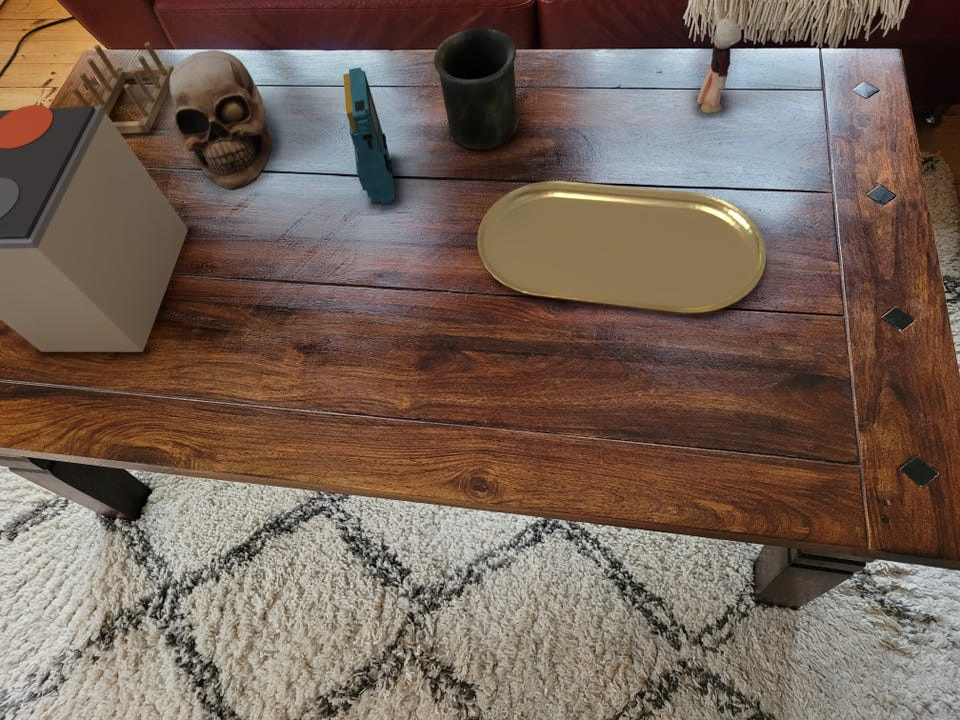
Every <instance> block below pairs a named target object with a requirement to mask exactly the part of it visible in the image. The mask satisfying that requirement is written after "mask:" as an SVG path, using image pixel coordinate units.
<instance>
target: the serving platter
mask: <svg viewBox="0 0 960 720" xmlns="http://www.w3.org/2000/svg"><path fill="white" fill-rule="evenodd" d="M476 246H477V247H476V249H477V252H478V256H479V259H480V261H481V263H482V265H483V266H484V268H485V269H486V272H488V273H489V274H490V276H492V277H493V279H494V280H496V281H497V282H498V283H500V284H501V285H503V286H505V287H506V288H508V289H511V290H512V291H515V292H517V293H520V294H521V295H522V294H523V295H525V296H530V297H531V296H532V297H536V298H545V299H554V300H564V301H569V302H579V303H587V304H595V305H602V306H603V305H604V306H611V307H612V306H613V307H618V308H619V307H620V308H629V309H636V310H644V311H654V312H661V313H671V314H676V315H677V314H678V315H701V314H709V313H713V312H716V311H720V310H723V309H726V308H728V307H730V306H733V305H734V304H737V303H738V302H740V301H741V300H743V299H744V298H745V297H747V296H748V295H749V294H750V293H751V292H752V291H753V290H754V289H755V288H756V286H757V285H758V283H759V282H760V280H761V278H762V276H763V274H764V272H765V268H766V263H767V249H766V245H765V241H764V238H763V236H762V233H761V231H760V229H759V228H758V226H757V225H756V224H755V223H754V222H753V220H752V219H751V218H750V217H749V216H748V215H747V214H746V213H745V212H744V211H742V210H741V209H739V208H738V207H736V206H735V205H733V204H731V203H729V202H728V201H726V200H723V199H721V198H718V197H716V196H712V195H708V194H705V193H701V192H693V191H683V190H682V191H681V190H670V189H669V190H668V189H659V188H647V187H646V188H645V187H634V186H622V185H613V184H612V185H611V184H598V183H588V182H587V183H586V182H578V181H577V182H576V181H566V180H565V181H564V180H547V181H539V182H533V183H530V184H526V185H523V186H520V187H518V188H516V189H513V190H512V191H509V192H507V193H506V194H504V195H503V196H501V197H500V198H499V199H498V200H496V202H494V203H493V204H492V205H491V206H490V207H489V209H488V210H487V212H485V214H484V216H483V218H482V219H481V222H480V224H479V227H478V231H477V236H476Z"/></svg>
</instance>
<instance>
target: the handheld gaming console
mask: <svg viewBox="0 0 960 720" xmlns="http://www.w3.org/2000/svg"><path fill="white" fill-rule="evenodd" d="M342 76H343V88H344V101H345V113H346V117H347V120H348V124H349V135H350V138H351V141H352V143H353V147H354V158H355V169H356V174H357V177H358V180H359V182H360V186H361V188H362V190H363V191H366V194H367V197H368V199H369V198H371V200H372V203H373V204H376V203H381V205H382V206H386V205H387V206H388V205H392V204H394V200H395V199H396V192H395V186H394V178H393V174H394V172H393V167H392V159H391V157H390V152H389V149H388V143H387V137H386V134H385V133H384V132H383V129H382V124H381V121H380V118H379V115H378V112H377V107H376V104H375V101H374V98H373V94H372V90H371V88H370V83H369V81H368V77H367V74H366V71H365V70H362V68H361V66H360V67H355V68H349V69H348V72H347V73H343V75H342Z"/></svg>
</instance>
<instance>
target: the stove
mask: <svg viewBox="0 0 960 720" xmlns="http://www.w3.org/2000/svg"><path fill="white" fill-rule="evenodd" d="M113 122H114V121H113V120H112V119H111V118H110V116H108V115H107V114H106V113H105V111H104V110H103V108H102V107H98V106H93V105H90V106H83V105H82V106H65V107H47V106H44V105H41V104H30V105H26V106H25V105H24V106H21V107H19V108H16V109H4V110H0V320H1V321H2V322H3V323H4V324H6V325H7V326H8V327H9V328H11V329H12V330H13V331H15V332H16V333H17V334H18V335H19V336H21V337H22V338H24V339H25V341H27V342H29V343H30V344H31V345H32V346H34V348H36V349H37V350H38V351H40V352H42V353H143V352H144V350H145V349H146V345H147V342H148V339H149V337H150V334H151V331H152V329H153V326H154V324H155V320H156V319H157V315H158V313H159V310H160V307H161V304H162V301H163V299H164V296H165V294H166V291H167V289H168V285H169V283H170V280H171V277H172V276H173V275H172V274H173V272H174V269H175V266H176V263H177V262H178V259H179V256H180V253H181V251H182V248H183V245H184V243H185V240H186V237H187V234H188V231H189V229H188V227H187V226H186V224H185V223H184V221H183V220H182V218H180V216H179V214H178V213H177V212H176V210H175V208H173V206H172V205H171V203H170V202H169V201H168V199H167V197H166V196H165V195H164V193H163V192H162V190H161V188H159V186H158V185H157V183H156V182H155V181H154V179H153V178H152V176H151V175H150V173H149V172H148V170H147V169H146V168H145V166H144V164H143V163H142V162H141V161H140V159H139V158H138V156H137V155H136V153H135V152H134V151H133V150H132V148H131V146H130V145H129V144H128V142H127V140H126V139H125V138H124V136H123V135H122V133H121V134H120V132H119V131H118V129H117V128H116V127H115V125H114V124H113Z"/></svg>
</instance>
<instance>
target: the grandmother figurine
mask: <svg viewBox="0 0 960 720" xmlns="http://www.w3.org/2000/svg"><path fill="white" fill-rule="evenodd" d="M741 39H742V31H741V30H740V27H739V25H738V23H737V22H736V21H735V20H733V19H730V18H728V17H727V18H725V17H724V18H722V19H720V20H719V21H718V22H717V24H716V28H715V32H714V36H713V39H712V41H713V44H714V46H713V47H712V48H713V49H712V53H711V62H710V65H709V68H708V71H707V73H706V75H705V77H704V81H703V83H702V85H701V88H700V91H699V93H698V96H697V99H696V100H697V103H698V104H699V105H700V110H701V112H702V113H704V114H711V113H712V114H713V113H718V112H721V110H722V105H721V103H720V102H721V97H722V96H721V94H722V91H723V90H724V89H725V87H726V82H727V78H728V76H729V68H730V65H731V46H733V45H734V44H737V43H739V42H740V40H741Z"/></svg>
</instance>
